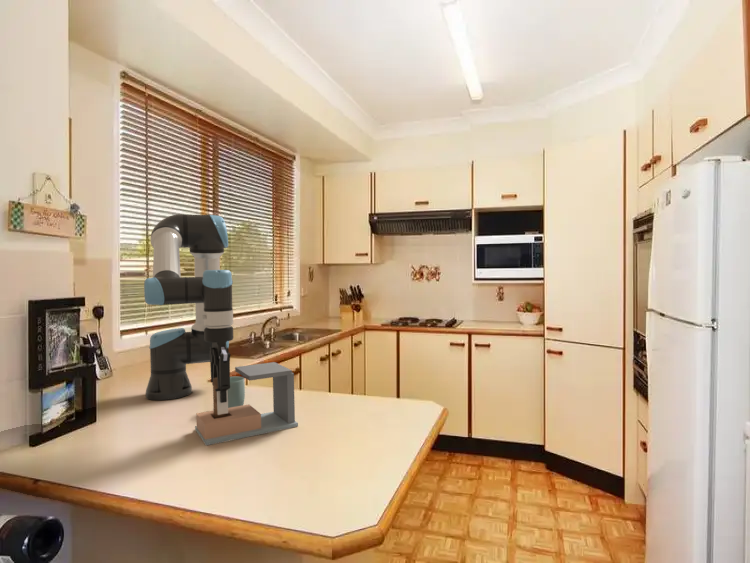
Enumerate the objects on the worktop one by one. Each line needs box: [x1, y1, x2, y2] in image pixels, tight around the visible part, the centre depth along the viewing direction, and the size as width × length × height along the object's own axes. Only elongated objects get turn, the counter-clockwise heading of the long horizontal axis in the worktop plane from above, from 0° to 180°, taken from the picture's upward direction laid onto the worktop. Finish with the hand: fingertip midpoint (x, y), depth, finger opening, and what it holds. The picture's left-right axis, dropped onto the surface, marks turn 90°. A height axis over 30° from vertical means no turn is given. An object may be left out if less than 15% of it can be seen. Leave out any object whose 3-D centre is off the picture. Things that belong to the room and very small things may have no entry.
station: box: [194, 361, 299, 446], centre depth 130 cm, size 14×25×16 cm, turn 122°
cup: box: [228, 376, 246, 408], centre depth 147 cm, size 8×8×10 cm
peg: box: [212, 377, 228, 419], centre depth 127 cm, size 4×4×12 cm
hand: (220, 411), depth 127 cm, fingers closed on peg, 3 cm apart
